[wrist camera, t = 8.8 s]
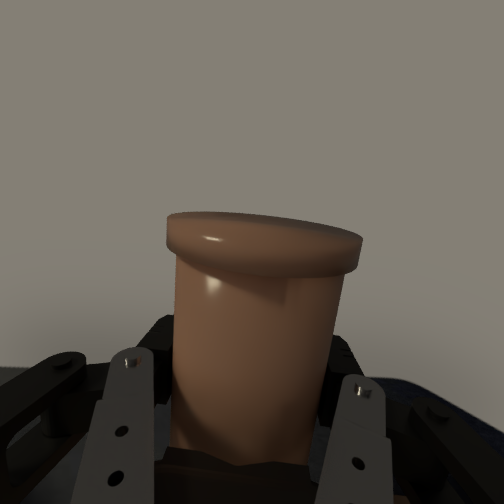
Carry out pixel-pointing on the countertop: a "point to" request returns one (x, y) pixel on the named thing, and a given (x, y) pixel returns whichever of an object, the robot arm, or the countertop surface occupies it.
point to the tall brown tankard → (253, 331)
